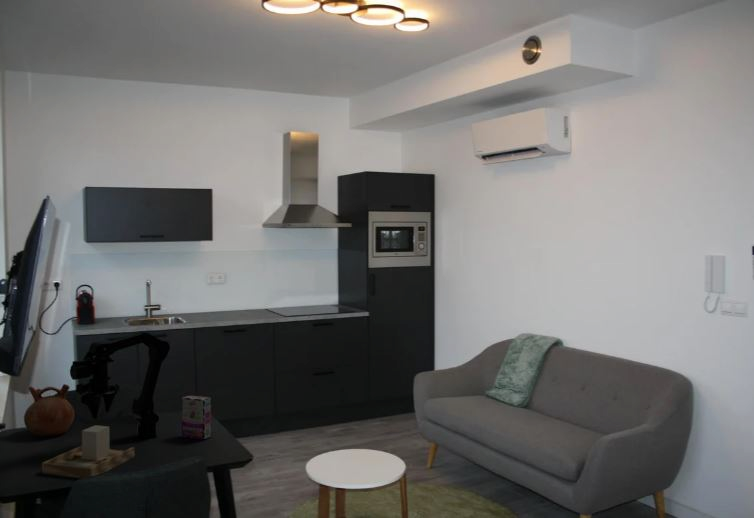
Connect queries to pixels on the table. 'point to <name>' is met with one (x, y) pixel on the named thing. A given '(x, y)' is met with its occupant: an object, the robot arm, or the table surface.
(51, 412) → the jug
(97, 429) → the cream block
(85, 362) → the robot arm
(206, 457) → the table surface
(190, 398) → the candy bar box
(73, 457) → the wooden tray
